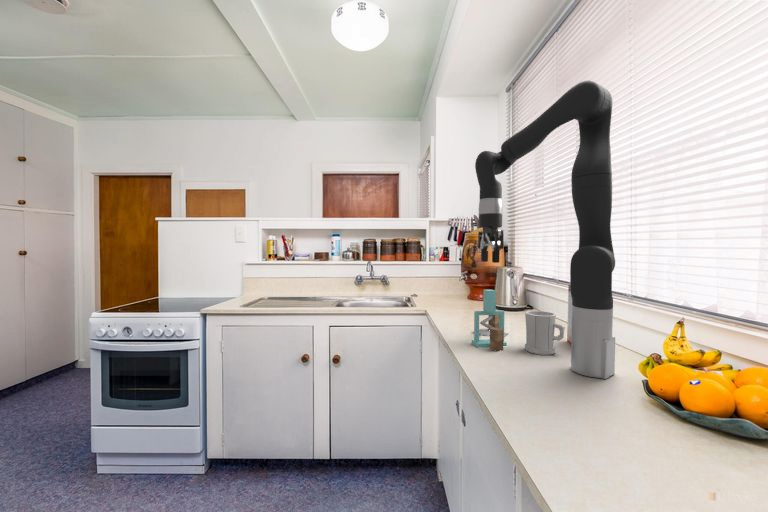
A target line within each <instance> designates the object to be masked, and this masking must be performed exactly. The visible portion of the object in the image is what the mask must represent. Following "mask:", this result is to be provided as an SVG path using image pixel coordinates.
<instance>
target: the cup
mask: <svg viewBox="0 0 768 512" xmlns="http://www.w3.org/2000/svg"><path fill="white" fill-rule="evenodd" d="M524 314H525V329H526V330H525V331H526V333H525V334H526V335H525V337H526V338H525V339H526V340H525V342H526V343H525V344H524V350H525V351H526V352H528V353H530V354H534V355H539V356H540V355H541V356H551V355H553V354H554V353H556V347H555V341H558V342H560V341H562V340H563V339H564V338H565V328H566V327H565V326H564V324H561V323H558V322H556V319H557V314H556V313H553V312H550V311H544V310H543V311H541V310H528V311H527V310H526V311H525V312H524ZM555 329H558V331H559V334H558V335H557V336H555Z"/></svg>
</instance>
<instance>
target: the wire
mask: <svg viewBox="0 0 768 512" xmlns="http://www.w3.org/2000/svg"><path fill="white" fill-rule="evenodd" d="M492 318H494V315H491V316H490V317H486V318H485V319H483V320H481V321H479V325H481V326H483V327H485V328H487V329H488V328H489V329H492V328H494V327H492V326H490V325H488V324H487V323H488V321H489V320H491V319H492Z"/></svg>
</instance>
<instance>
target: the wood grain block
mask: <svg viewBox="0 0 768 512" xmlns="http://www.w3.org/2000/svg"><path fill="white" fill-rule="evenodd" d="M487 316H488V317H490V316H491V315H487ZM488 317H487V318H488ZM487 323H488V325H490V326H492V327H494V328H492V329H489V328H487V331H488V330H490V336H489V339H490V347H489V350H490V349H492V350H491V351H494V350H496V351H495V352H501V351H503V350H504V347H503V335H504V333H505V328H504V329H500V328H499V315H494V318H492V319H491V320H489V321H487ZM500 350H501V351H500Z"/></svg>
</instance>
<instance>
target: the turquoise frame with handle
mask: <svg viewBox="0 0 768 512" xmlns="http://www.w3.org/2000/svg"><path fill="white" fill-rule="evenodd" d="M482 300H483V304H482V306H483V307H482V310H474V311H473V313H474V316H473V317H474V318H473V319H474V320H473V321H474V323H473V328H474V330H473V331H474V334H473V335H474V336H473V339H472V340H471V344H472V343H473V344H474V346H475V347H476V346H477V347H476V348H478V347H481V348H490V338H489V339H488V338H487V339H480V335H479V330H480V316H488V315H499V328H500V329H504V330H505V310H496V308H497V307H496V306H497V305H496V303H497V301H496V300H497V291H496V290H494V289H483V299H482ZM473 344H472V345H473ZM507 345H508V344H507V341H505V338H504V335H503V346H507ZM507 347H508V346H507Z"/></svg>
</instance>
